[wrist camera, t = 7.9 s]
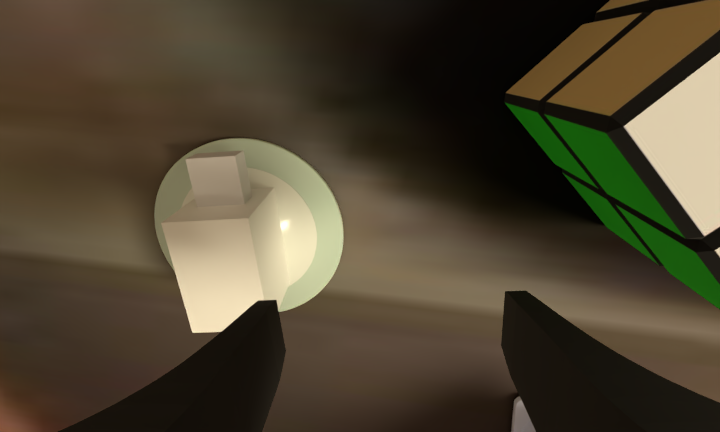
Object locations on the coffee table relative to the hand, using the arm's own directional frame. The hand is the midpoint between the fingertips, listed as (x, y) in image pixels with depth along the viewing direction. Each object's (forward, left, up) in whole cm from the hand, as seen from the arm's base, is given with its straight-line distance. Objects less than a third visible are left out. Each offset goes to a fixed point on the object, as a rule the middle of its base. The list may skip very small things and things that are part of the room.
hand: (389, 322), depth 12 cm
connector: (+8, 0, -10) cm, 13 cm away
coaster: (+8, +1, -10) cm, 13 cm away
